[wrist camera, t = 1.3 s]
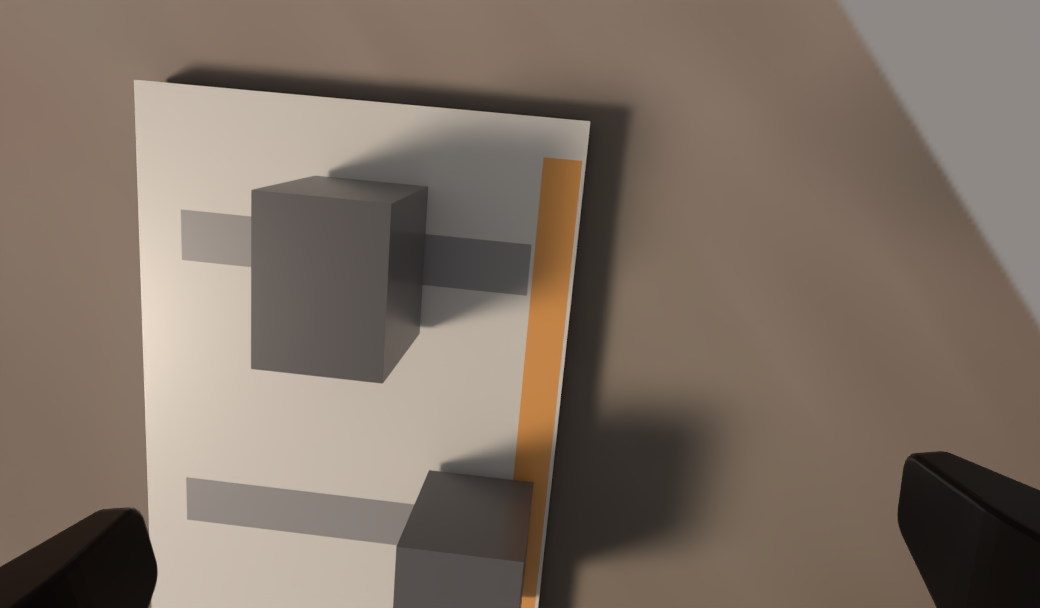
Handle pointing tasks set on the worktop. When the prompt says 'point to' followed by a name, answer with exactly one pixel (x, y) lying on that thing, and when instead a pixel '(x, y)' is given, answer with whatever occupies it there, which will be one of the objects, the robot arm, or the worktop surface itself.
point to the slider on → (464, 543)
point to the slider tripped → (336, 276)
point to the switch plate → (330, 401)
